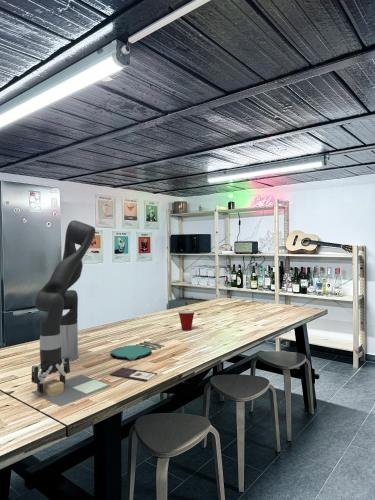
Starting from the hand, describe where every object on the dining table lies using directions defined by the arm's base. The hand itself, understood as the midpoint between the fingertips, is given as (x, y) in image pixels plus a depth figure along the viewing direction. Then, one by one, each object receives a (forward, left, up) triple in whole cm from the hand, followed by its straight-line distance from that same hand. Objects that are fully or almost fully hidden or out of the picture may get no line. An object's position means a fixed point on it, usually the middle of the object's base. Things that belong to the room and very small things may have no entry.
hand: (51, 389), depth 134 cm
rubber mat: (+4, +6, -2) cm, 7 cm away
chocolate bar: (+11, +31, -2) cm, 33 cm away
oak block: (0, 0, -1) cm, 1 cm away
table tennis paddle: (-12, +55, -2) cm, 56 cm away
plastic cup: (-20, +105, -2) cm, 107 cm away
